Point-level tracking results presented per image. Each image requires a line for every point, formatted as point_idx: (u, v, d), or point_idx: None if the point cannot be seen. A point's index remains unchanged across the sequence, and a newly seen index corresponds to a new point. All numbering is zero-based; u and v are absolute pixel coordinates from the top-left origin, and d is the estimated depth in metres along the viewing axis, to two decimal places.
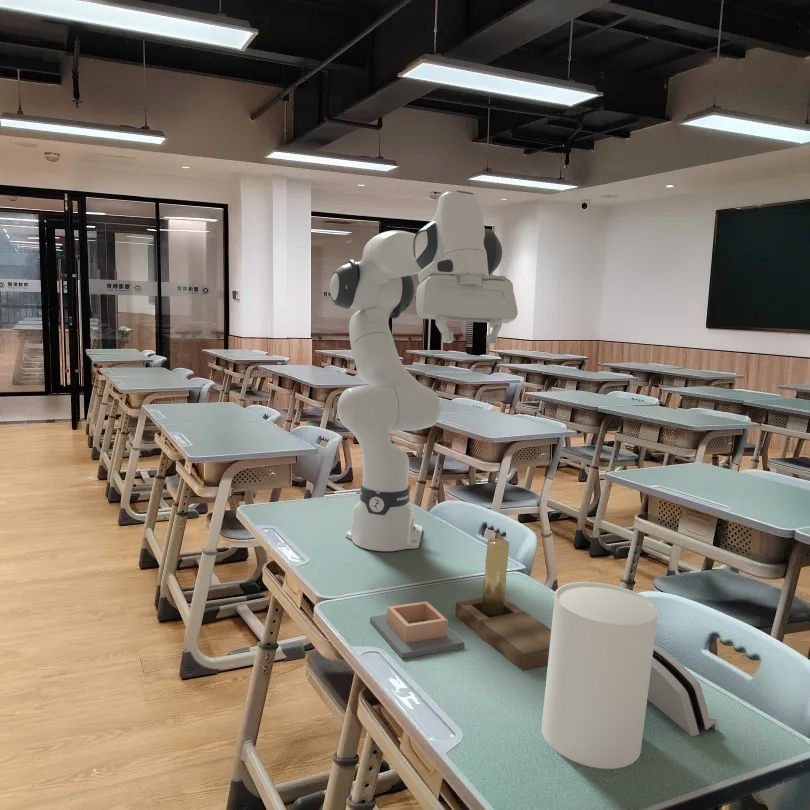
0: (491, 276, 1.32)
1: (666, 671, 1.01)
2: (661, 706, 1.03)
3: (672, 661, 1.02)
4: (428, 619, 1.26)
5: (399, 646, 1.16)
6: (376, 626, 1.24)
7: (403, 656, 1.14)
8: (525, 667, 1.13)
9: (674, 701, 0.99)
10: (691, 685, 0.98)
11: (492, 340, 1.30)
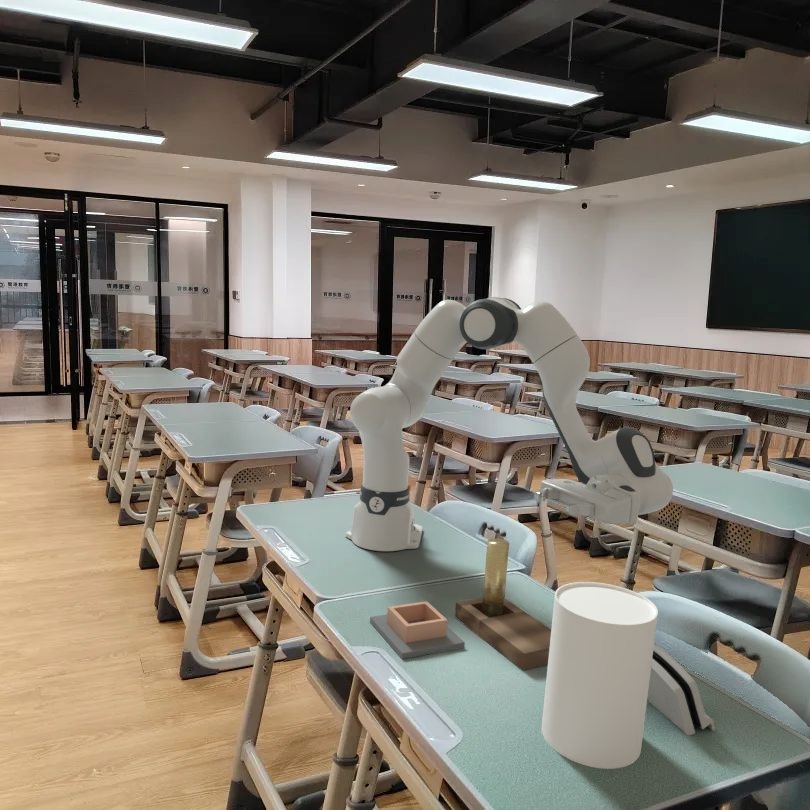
0: None
1: (663, 670, 1.01)
2: (659, 705, 1.04)
3: (669, 660, 1.02)
4: (428, 619, 1.26)
5: (399, 646, 1.16)
6: (376, 626, 1.24)
7: (403, 656, 1.14)
8: (525, 667, 1.13)
9: (670, 700, 1.00)
10: (687, 684, 0.99)
11: None
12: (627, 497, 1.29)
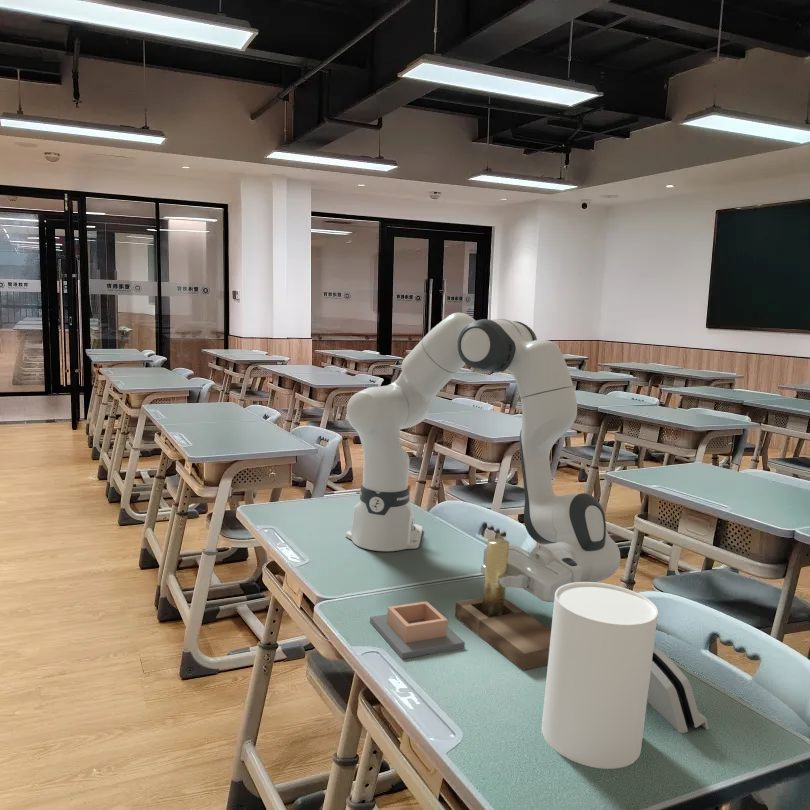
0: None
1: (656, 668, 1.01)
2: (654, 703, 1.04)
3: (664, 658, 1.03)
4: (428, 619, 1.26)
5: (399, 646, 1.16)
6: (376, 626, 1.24)
7: (403, 656, 1.14)
8: (525, 667, 1.13)
9: (663, 698, 1.00)
10: (680, 682, 0.99)
11: None
12: (568, 572, 1.25)
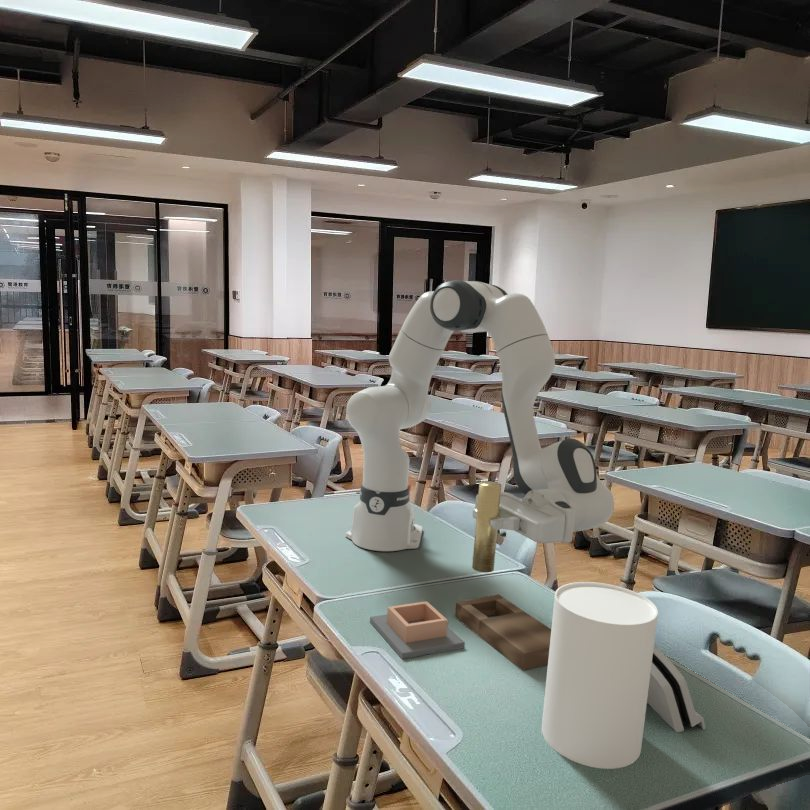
0: None
1: (653, 666, 1.02)
2: (651, 701, 1.04)
3: (661, 657, 1.03)
4: (428, 619, 1.26)
5: (399, 646, 1.16)
6: (376, 626, 1.24)
7: (403, 656, 1.14)
8: (525, 667, 1.13)
9: (660, 696, 1.00)
10: (677, 681, 0.99)
11: None
12: (561, 514, 1.22)
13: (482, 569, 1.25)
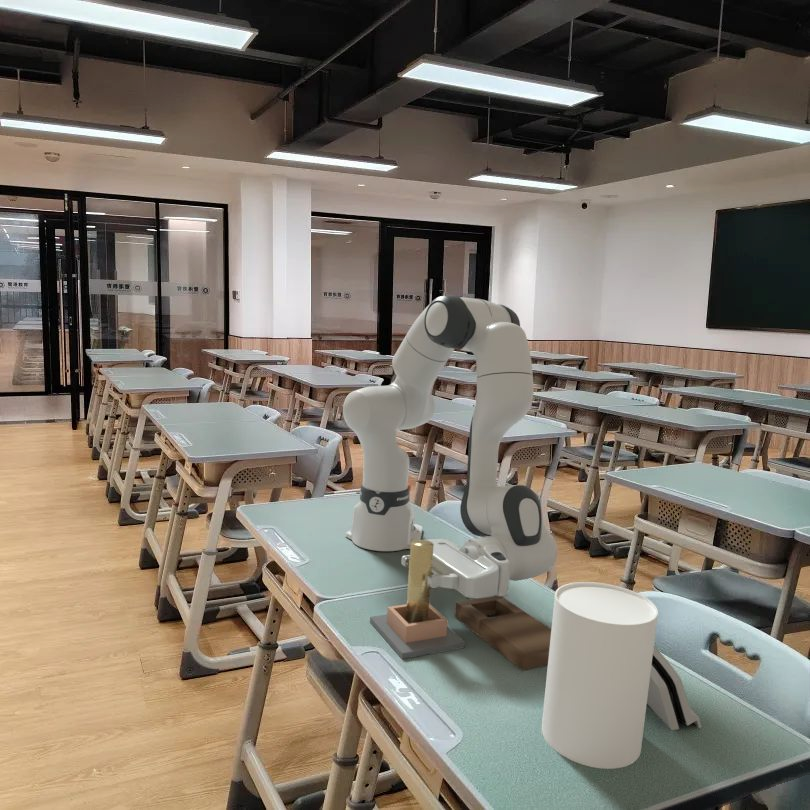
0: None
1: None
2: (648, 700, 1.05)
3: (657, 656, 1.03)
4: (428, 619, 1.26)
5: (399, 646, 1.16)
6: (376, 626, 1.24)
7: (403, 656, 1.14)
8: (525, 667, 1.13)
9: (655, 694, 1.01)
10: (672, 679, 1.00)
11: None
12: (494, 567, 1.18)
13: None
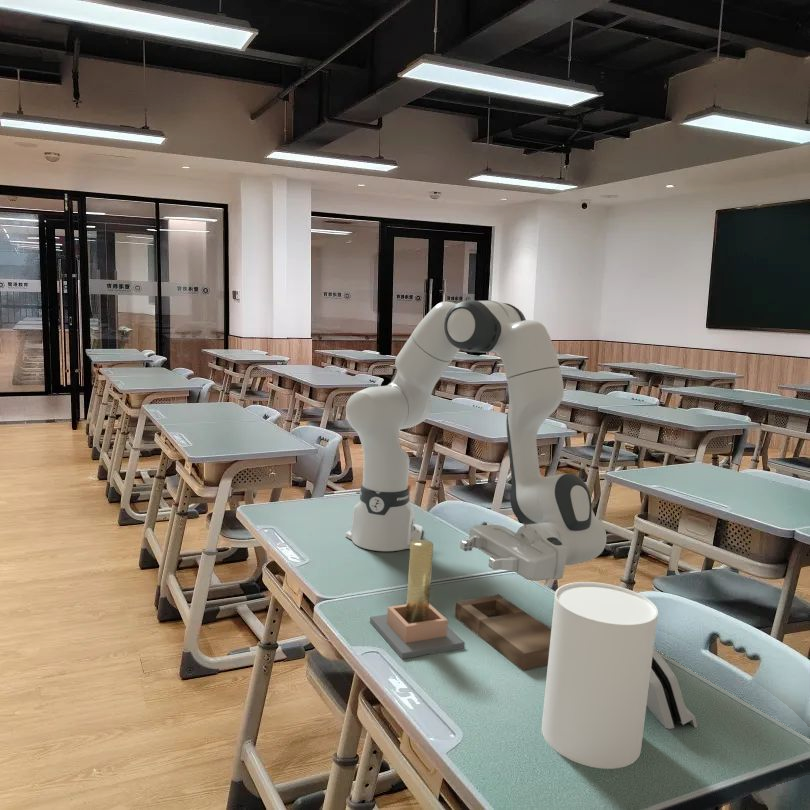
0: None
1: None
2: None
3: (654, 655, 1.04)
4: (428, 619, 1.26)
5: (399, 646, 1.16)
6: (376, 626, 1.24)
7: (403, 656, 1.14)
8: (525, 667, 1.13)
9: (651, 693, 1.01)
10: (668, 678, 1.00)
11: None
12: (552, 551, 1.25)
13: None
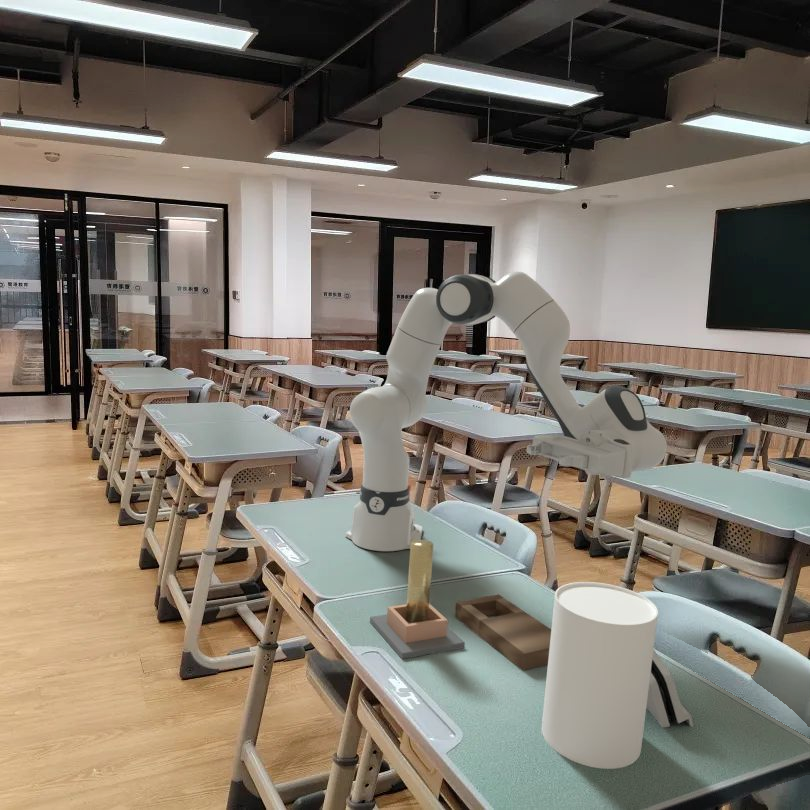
0: None
1: None
2: None
3: None
4: (428, 619, 1.26)
5: (399, 646, 1.16)
6: (376, 626, 1.24)
7: (403, 656, 1.14)
8: (525, 667, 1.13)
9: None
10: (663, 677, 1.00)
11: (531, 454, 1.33)
12: (621, 449, 1.26)
13: None
